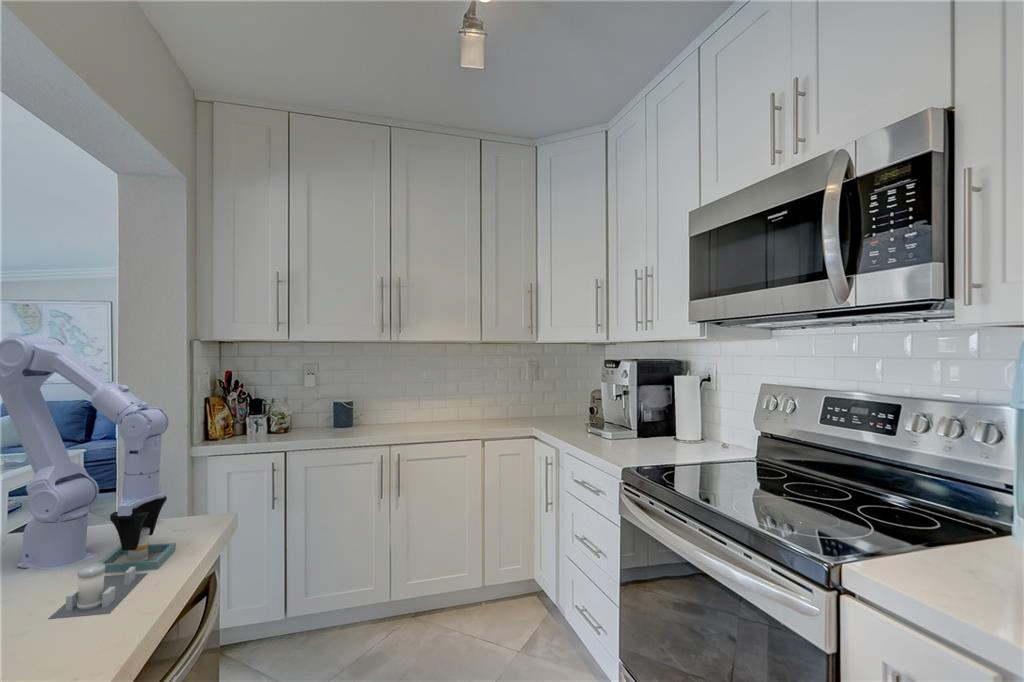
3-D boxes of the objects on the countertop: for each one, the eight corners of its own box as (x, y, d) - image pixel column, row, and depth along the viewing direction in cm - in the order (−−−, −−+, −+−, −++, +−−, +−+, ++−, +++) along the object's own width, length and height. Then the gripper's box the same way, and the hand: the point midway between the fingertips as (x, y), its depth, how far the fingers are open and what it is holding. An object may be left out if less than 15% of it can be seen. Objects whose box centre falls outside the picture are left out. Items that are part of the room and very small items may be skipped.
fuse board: (109, 617, 80) (110, 599, 80) (47, 623, 78) (48, 604, 78) (147, 576, 95) (148, 560, 95) (96, 580, 93) (97, 564, 93)
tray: (157, 572, 96) (157, 561, 97) (94, 576, 94) (94, 565, 94) (175, 552, 106) (175, 542, 106) (118, 556, 103) (118, 546, 103)
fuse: (71, 608, 81) (72, 570, 81) (93, 598, 85) (94, 561, 85) (87, 612, 81) (88, 573, 81) (109, 601, 84) (110, 564, 84)
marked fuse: (122, 564, 98) (123, 532, 99) (138, 557, 102) (139, 526, 102) (137, 566, 98) (138, 534, 98) (152, 559, 101) (154, 528, 101)
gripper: (151, 480, 94) (147, 555, 94) (178, 463, 108) (175, 528, 108) (105, 481, 92) (101, 558, 92) (139, 463, 106) (135, 530, 106)
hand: (138, 542), depth 100 cm, fingers open, 7 cm apart
